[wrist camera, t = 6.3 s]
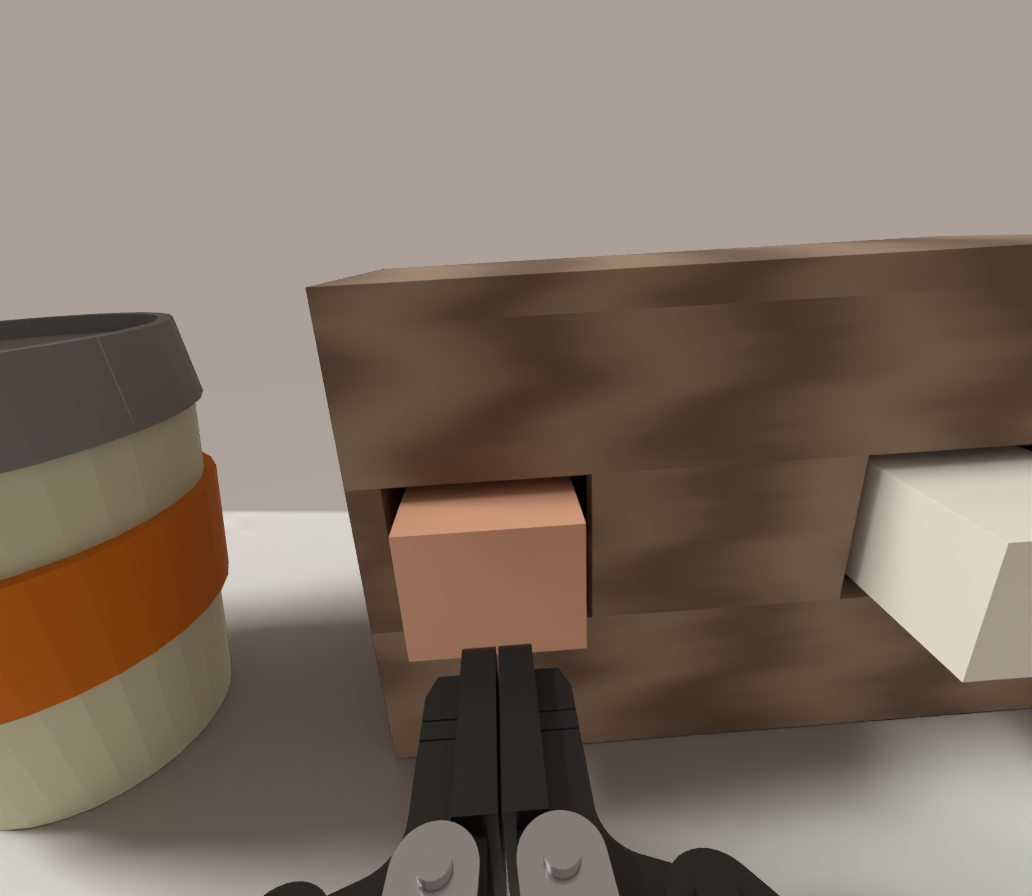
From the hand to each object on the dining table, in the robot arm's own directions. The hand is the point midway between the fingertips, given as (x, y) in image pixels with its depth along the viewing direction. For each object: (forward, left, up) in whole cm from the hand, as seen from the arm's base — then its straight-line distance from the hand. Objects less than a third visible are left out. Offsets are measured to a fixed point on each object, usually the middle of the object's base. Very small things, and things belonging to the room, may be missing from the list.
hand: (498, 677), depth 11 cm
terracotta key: (0, +6, -2) cm, 7 cm away
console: (+8, +10, -8) cm, 15 cm away
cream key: (+14, +4, -2) cm, 15 cm away
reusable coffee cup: (-16, +8, -8) cm, 20 cm away
